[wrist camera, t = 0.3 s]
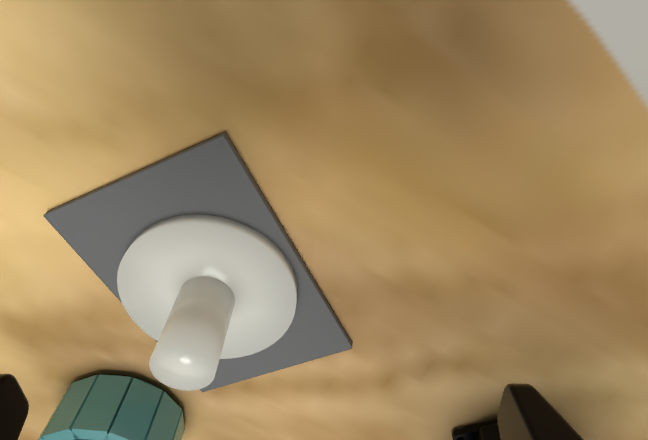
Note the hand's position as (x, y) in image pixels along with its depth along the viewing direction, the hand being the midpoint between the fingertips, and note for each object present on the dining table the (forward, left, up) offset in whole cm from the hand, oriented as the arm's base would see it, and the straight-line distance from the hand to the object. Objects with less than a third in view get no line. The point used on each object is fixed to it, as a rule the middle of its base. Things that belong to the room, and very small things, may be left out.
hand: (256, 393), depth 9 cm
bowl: (-13, +19, -14) cm, 27 cm away
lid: (-6, +8, -13) cm, 17 cm away
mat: (-6, +8, -14) cm, 17 cm away
